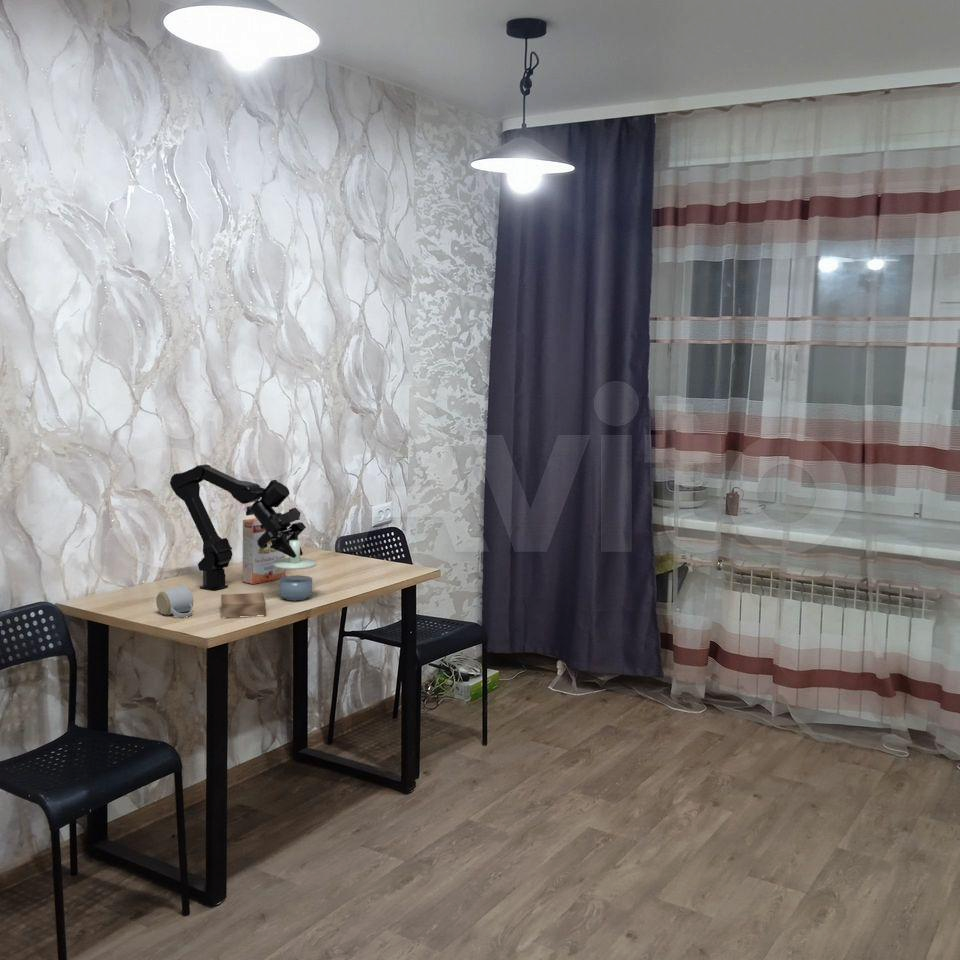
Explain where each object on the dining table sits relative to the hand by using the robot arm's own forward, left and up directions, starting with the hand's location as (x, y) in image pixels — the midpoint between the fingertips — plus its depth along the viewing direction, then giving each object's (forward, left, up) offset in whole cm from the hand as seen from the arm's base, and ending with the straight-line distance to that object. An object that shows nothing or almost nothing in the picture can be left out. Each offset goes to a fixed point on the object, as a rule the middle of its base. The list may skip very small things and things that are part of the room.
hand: (298, 556), depth 298 cm
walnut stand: (-3, -20, -13) cm, 25 cm away
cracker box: (-25, +14, -14) cm, 32 cm away
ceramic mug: (-17, -32, -14) cm, 39 cm away
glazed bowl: (-1, +1, -13) cm, 14 cm away
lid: (-1, 0, -3) cm, 3 cm away
